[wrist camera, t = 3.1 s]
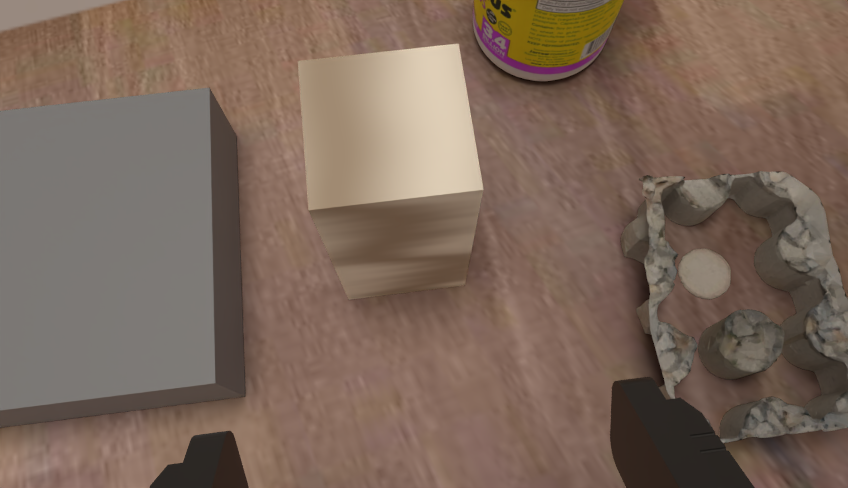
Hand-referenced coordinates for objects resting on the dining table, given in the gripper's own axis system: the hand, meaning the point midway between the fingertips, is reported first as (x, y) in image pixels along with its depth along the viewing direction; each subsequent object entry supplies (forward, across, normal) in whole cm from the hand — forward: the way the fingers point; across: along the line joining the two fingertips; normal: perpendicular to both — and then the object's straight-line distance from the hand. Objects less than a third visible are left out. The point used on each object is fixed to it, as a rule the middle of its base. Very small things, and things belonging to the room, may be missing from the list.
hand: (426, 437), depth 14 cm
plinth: (+15, +13, +2) cm, 20 cm away
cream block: (+15, 0, +3) cm, 16 cm away
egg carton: (+12, -13, +6) cm, 19 cm away
